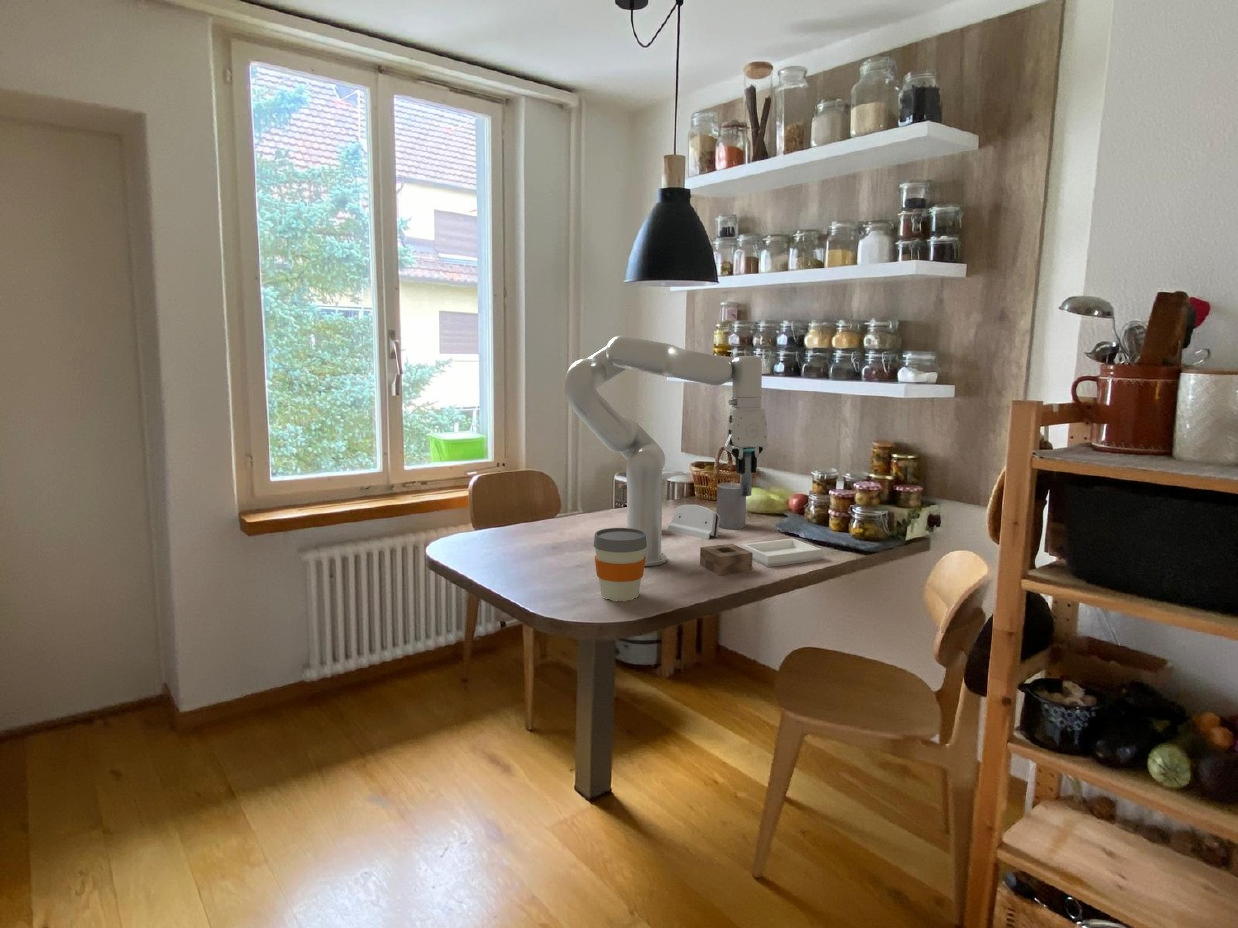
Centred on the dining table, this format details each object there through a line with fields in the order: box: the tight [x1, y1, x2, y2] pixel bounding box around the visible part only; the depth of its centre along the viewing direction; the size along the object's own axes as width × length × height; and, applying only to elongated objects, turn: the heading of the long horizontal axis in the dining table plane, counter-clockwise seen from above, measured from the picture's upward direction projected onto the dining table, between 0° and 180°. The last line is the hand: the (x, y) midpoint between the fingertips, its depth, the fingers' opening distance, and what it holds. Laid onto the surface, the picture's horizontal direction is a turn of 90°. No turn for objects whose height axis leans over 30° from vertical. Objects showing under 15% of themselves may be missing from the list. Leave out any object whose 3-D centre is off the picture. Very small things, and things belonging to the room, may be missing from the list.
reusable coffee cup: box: [593, 527, 647, 602], centre depth 176 cm, size 13×13×15 cm
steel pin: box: [739, 447, 755, 497], centre depth 199 cm, size 5×5×13 cm
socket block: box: [699, 543, 753, 576], centre depth 199 cm, size 10×10×5 cm
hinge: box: [667, 504, 720, 540], centre depth 237 cm, size 17×5×10 cm, turn 47°
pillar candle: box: [715, 482, 747, 530], centre depth 246 cm, size 10×10×15 cm
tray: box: [740, 538, 823, 568], centre depth 210 cm, size 18×13×3 cm
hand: (746, 472), depth 199 cm, fingers closed on steel pin, 3 cm apart
